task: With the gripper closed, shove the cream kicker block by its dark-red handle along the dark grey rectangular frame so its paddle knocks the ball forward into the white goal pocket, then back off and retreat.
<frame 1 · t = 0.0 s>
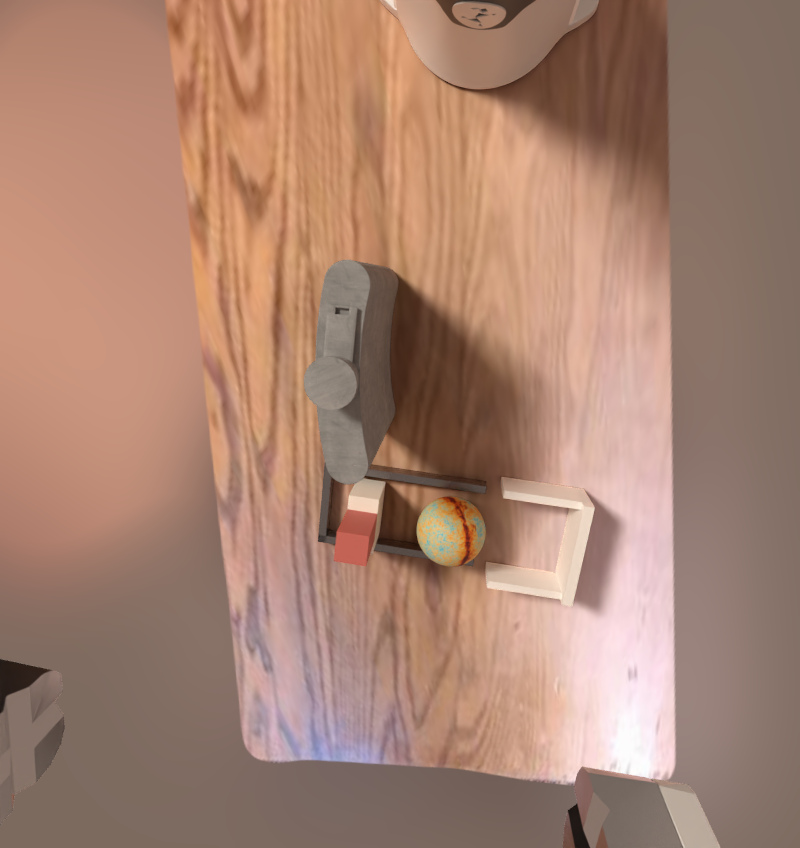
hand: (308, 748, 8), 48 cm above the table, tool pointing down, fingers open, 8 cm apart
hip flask: (377, 348, 55), on the table
goal: (532, 529, 58), on the table
kicker: (361, 525, 54), point 5 cm above the table, slide at 0.0 cm
ball: (451, 516, 59), on the table
dark grey rectangular frame: (401, 509, 59), on the table
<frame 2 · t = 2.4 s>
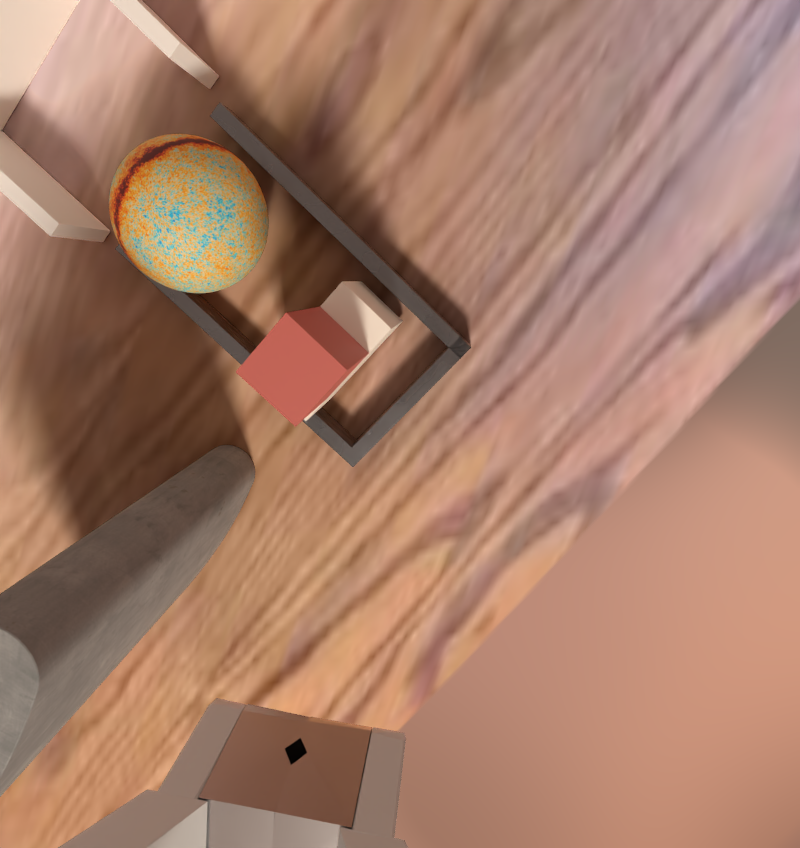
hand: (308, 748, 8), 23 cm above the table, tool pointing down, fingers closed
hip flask: (183, 545, 35), on the table
goal: (95, 103, 28), on the table
kicker: (323, 353, 25), point 5 cm above the table, slide at 0.0 cm
ball: (224, 224, 29), on the table
dark grey rectangular frame: (299, 296, 30), on the table
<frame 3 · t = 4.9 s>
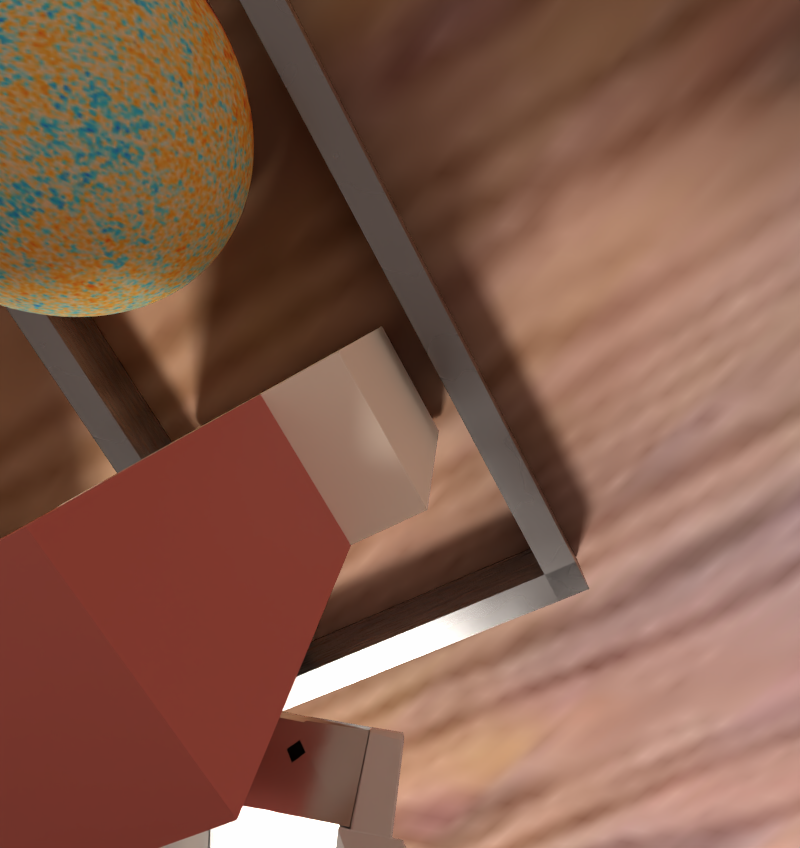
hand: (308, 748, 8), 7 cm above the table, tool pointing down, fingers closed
kicker: (234, 508, 9), point 5 cm above the table, slide at 1.4 cm, touching gripper
ball: (161, 163, 14), on the table
dark grey rectangular frame: (273, 360, 14), on the table
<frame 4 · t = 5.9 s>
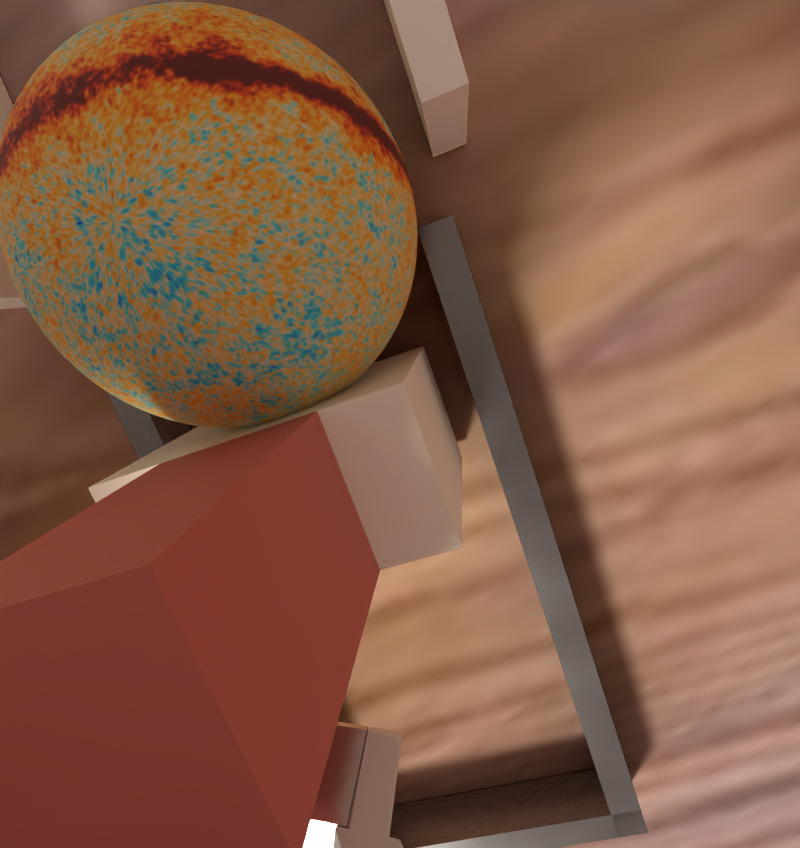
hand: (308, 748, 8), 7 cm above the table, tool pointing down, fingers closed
goal: (185, 47, 13), on the table
kicker: (270, 516, 9), point 5 cm above the table, slide at 8.0 cm, touching ball, gripper
ball: (289, 250, 14), on the table, touching kicker
dark grey rectangular frame: (393, 578, 15), on the table
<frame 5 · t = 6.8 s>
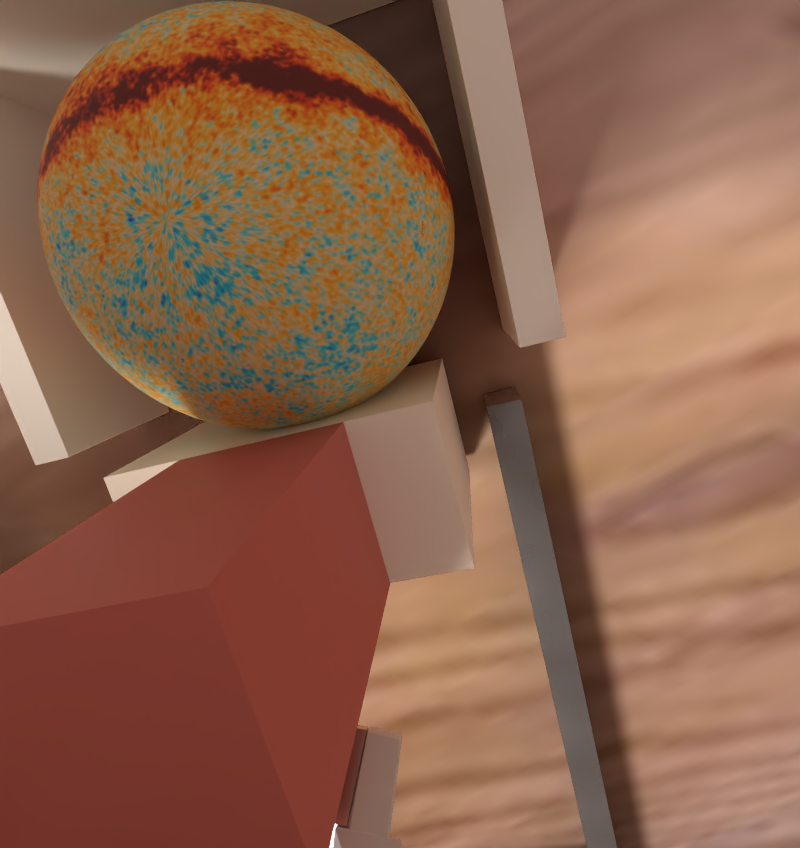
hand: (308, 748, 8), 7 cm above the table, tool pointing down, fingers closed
goal: (278, 204, 13), on the table
kicker: (285, 522, 9), point 5 cm above the table, slide at 11.7 cm, touching ball, gripper
ball: (315, 251, 14), on the table, touching kicker
dark grey rectangular frame: (420, 692, 16), on the table
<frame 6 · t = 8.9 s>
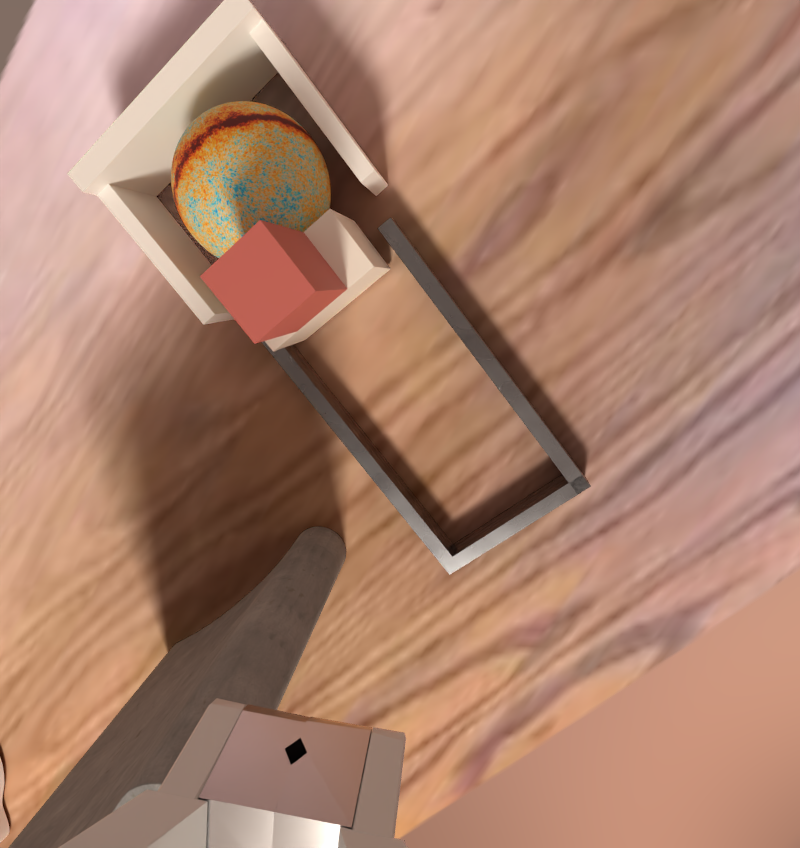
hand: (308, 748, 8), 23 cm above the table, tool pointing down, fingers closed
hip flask: (259, 610, 35), on the table
goal: (257, 188, 28), on the table
kicker: (300, 282, 24), point 5 cm above the table, slide at 11.7 cm
ball: (281, 201, 28), on the table
dark grey rectangular frame: (424, 403, 30), on the table
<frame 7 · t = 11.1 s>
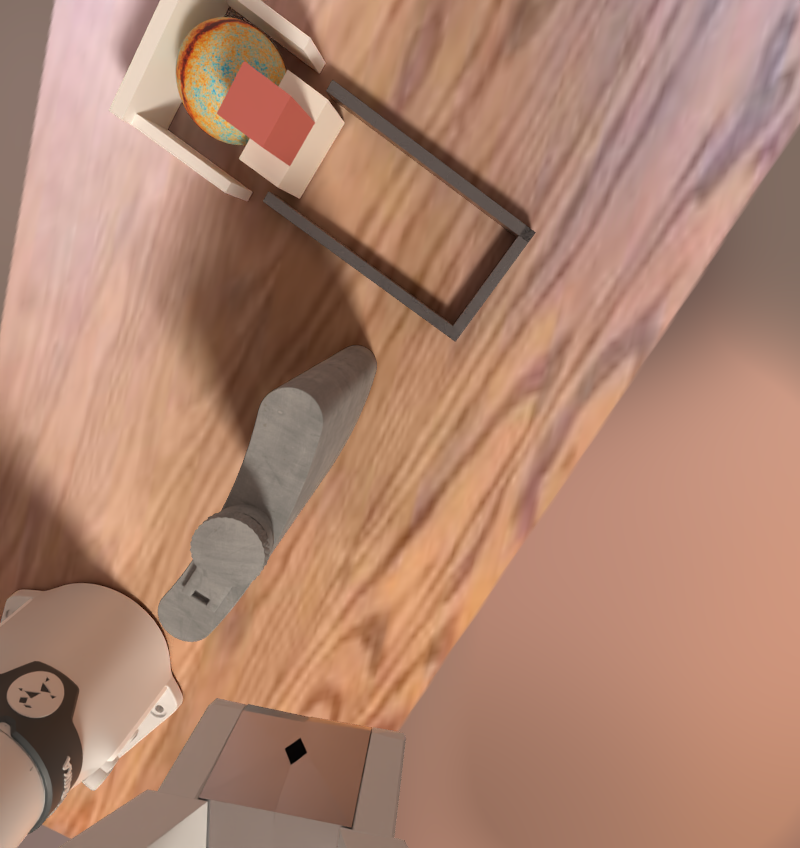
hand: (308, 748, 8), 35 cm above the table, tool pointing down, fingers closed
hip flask: (325, 434, 45), on the table
goal: (235, 98, 39), on the table
kicker: (282, 130, 34), point 5 cm above the table, slide at 11.7 cm
ball: (254, 102, 39), on the table
dark grey rectangular frame: (399, 219, 40), on the table
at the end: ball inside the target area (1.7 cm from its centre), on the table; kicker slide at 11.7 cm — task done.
